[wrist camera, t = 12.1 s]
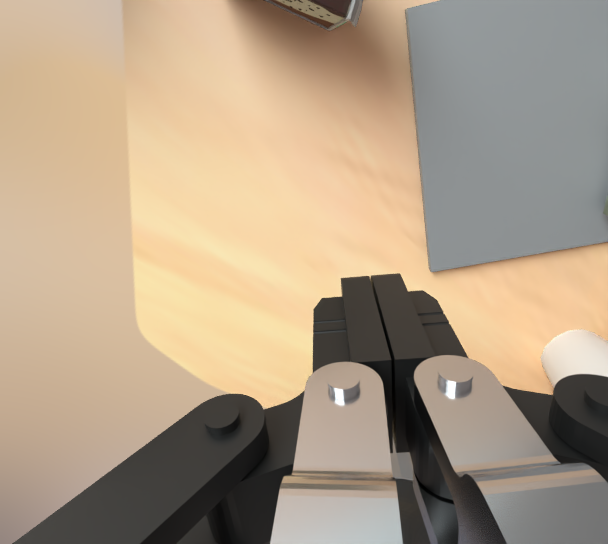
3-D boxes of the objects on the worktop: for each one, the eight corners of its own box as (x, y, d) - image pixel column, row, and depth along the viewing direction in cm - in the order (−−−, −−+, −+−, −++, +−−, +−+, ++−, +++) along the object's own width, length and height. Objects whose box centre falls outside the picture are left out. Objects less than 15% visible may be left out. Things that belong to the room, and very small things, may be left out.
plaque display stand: (660, 228, 38) (783, 281, 28) (429, 268, 40) (465, 330, 30) (705, -64, 29) (911, -141, 19) (405, 10, 31) (446, -24, 21)
